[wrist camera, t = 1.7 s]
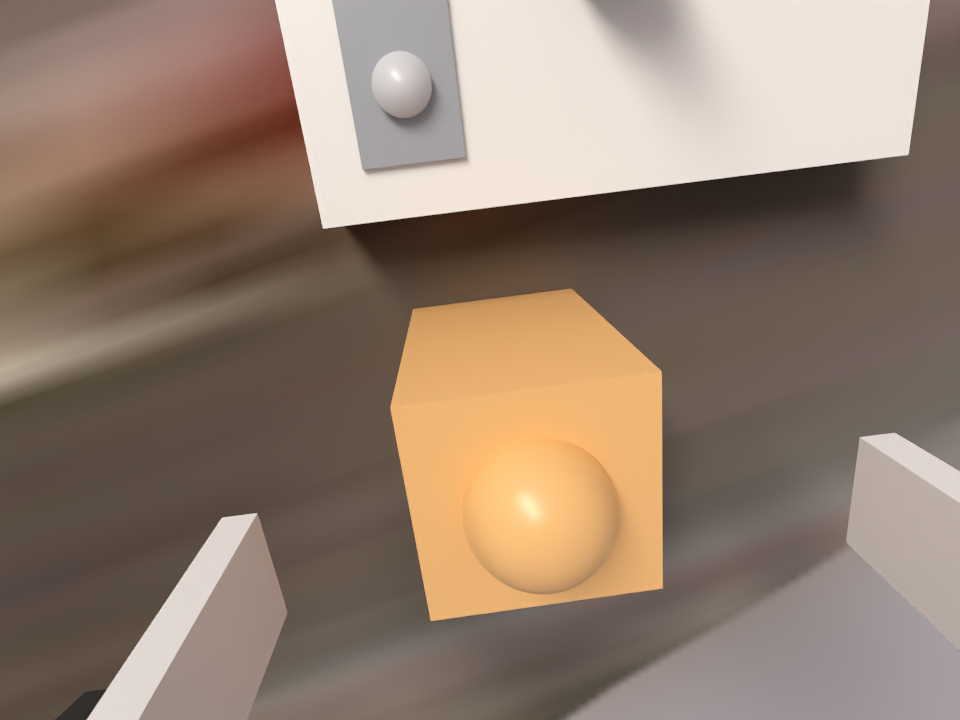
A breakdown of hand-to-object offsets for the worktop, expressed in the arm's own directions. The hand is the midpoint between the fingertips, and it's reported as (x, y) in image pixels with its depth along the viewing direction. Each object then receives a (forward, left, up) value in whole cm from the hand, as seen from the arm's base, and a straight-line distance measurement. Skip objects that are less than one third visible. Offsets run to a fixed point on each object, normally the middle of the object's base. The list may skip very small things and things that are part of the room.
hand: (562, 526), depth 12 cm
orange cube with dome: (0, 0, -10) cm, 10 cm away
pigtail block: (+4, +13, -10) cm, 17 cm away
